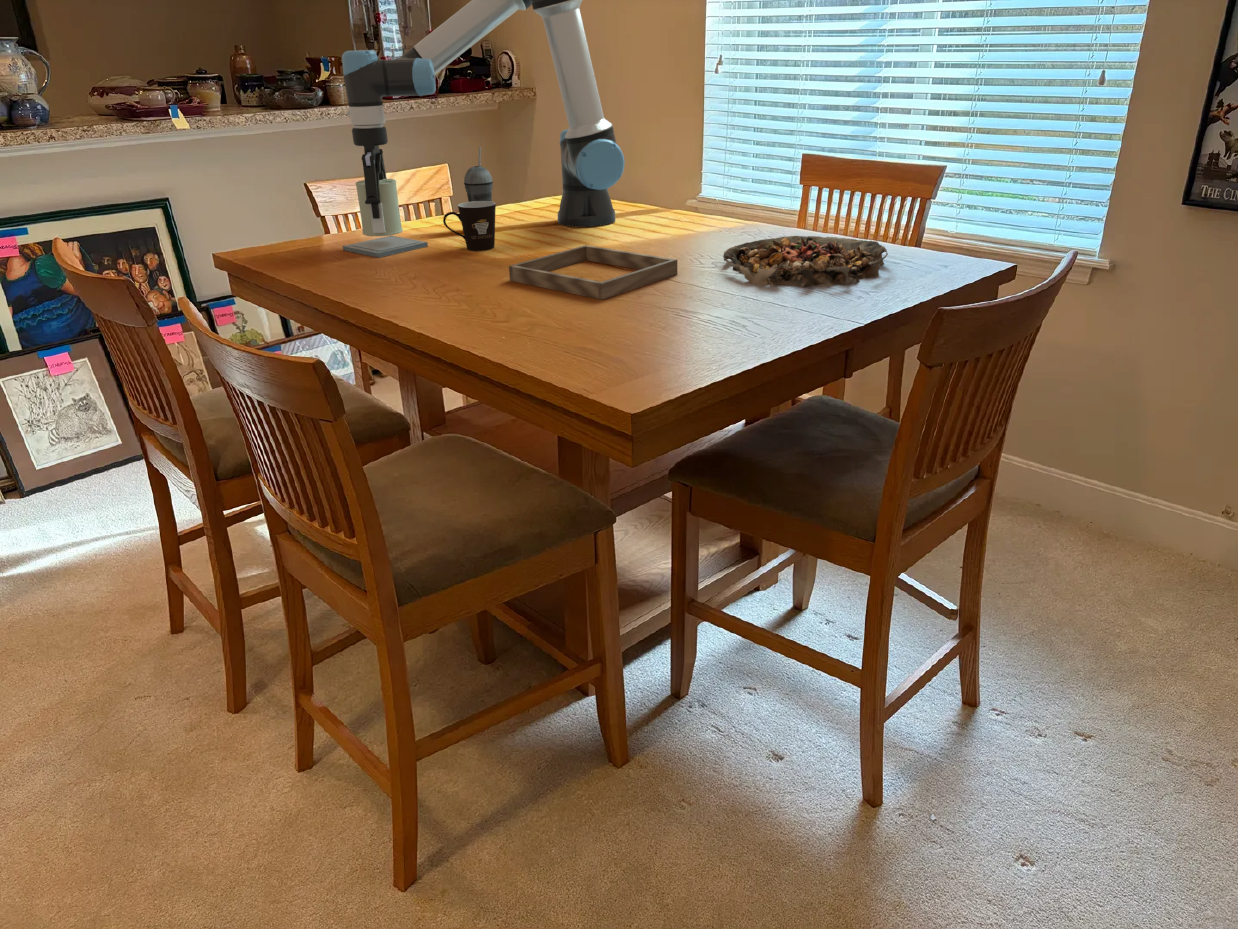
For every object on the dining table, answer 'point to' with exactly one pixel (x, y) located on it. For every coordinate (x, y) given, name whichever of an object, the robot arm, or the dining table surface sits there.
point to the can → (388, 206)
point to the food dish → (806, 261)
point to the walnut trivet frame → (539, 276)
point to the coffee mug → (476, 224)
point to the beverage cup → (478, 183)
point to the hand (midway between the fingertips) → (382, 228)
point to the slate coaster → (385, 246)
